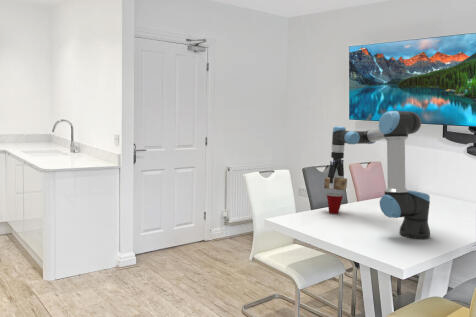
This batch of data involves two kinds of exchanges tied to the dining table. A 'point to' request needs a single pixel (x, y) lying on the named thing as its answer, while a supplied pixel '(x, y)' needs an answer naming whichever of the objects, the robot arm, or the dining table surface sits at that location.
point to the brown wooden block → (336, 183)
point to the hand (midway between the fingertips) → (335, 187)
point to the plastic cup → (334, 202)
